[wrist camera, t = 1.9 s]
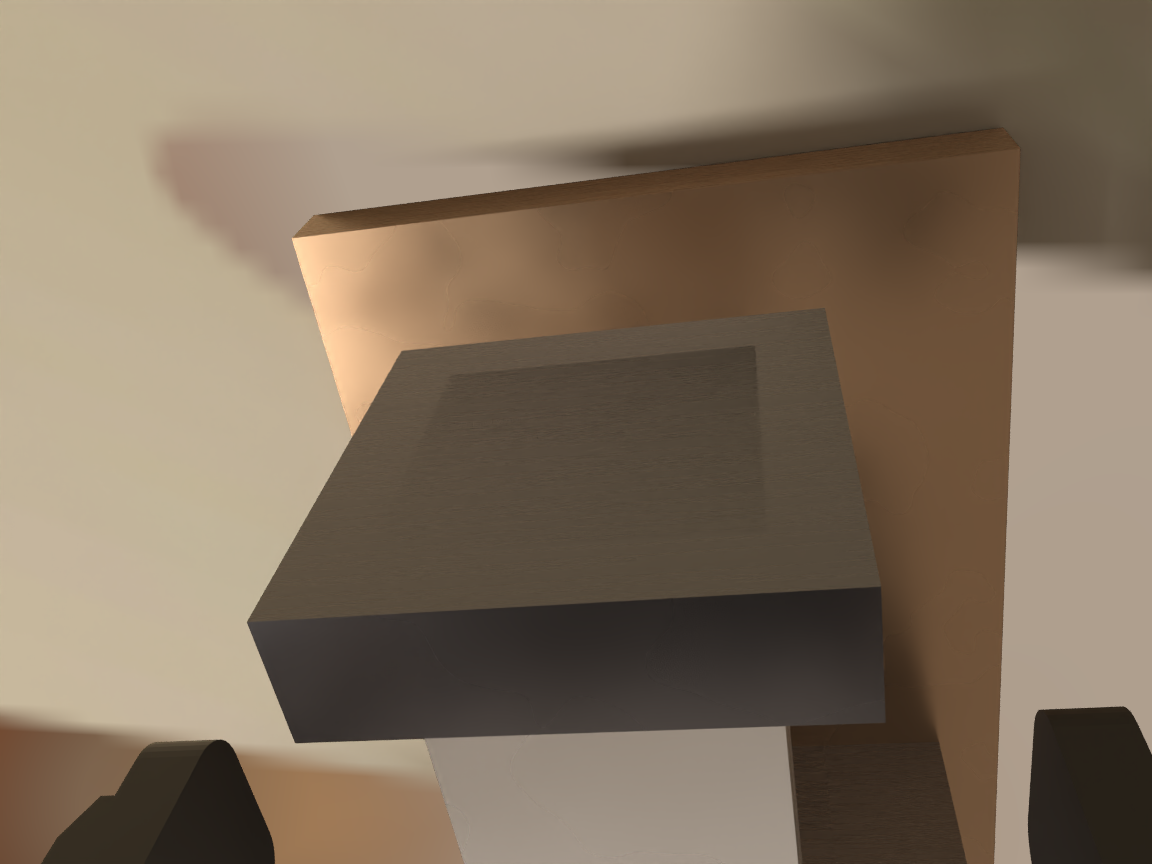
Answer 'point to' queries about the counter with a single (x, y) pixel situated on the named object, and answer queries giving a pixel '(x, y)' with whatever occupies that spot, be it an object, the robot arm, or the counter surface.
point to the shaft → (593, 587)
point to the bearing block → (867, 377)
